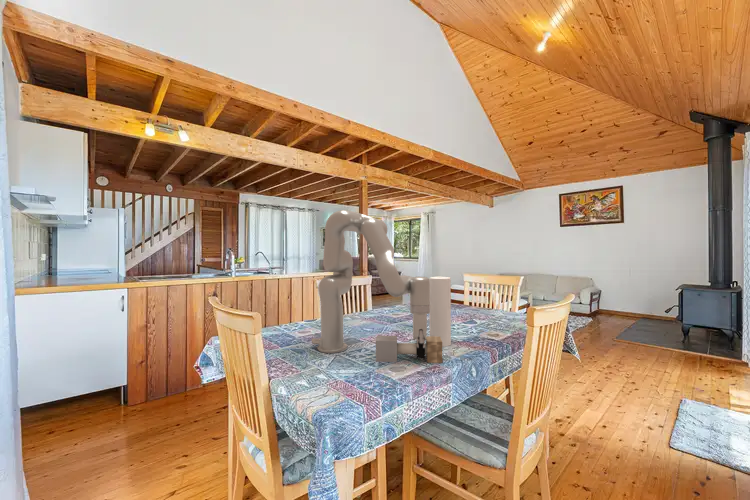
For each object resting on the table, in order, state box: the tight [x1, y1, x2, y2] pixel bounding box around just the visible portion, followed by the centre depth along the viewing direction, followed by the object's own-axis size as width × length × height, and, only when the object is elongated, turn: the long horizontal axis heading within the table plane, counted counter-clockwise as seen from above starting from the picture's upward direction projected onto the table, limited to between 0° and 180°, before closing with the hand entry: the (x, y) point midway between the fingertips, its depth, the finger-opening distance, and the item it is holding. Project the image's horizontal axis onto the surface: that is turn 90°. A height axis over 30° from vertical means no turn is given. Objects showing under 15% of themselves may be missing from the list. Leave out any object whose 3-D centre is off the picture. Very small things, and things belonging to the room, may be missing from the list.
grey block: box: [375, 335, 398, 363], centre depth 127 cm, size 8×7×8 cm
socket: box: [425, 335, 443, 364], centre depth 125 cm, size 6×7×8 cm
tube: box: [397, 342, 427, 356], centre depth 126 cm, size 15×5×5 cm, turn 85°
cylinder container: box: [428, 275, 452, 348], centre depth 146 cm, size 9×9×30 cm
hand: (420, 355), depth 126 cm, fingers closed on tube, 4 cm apart
